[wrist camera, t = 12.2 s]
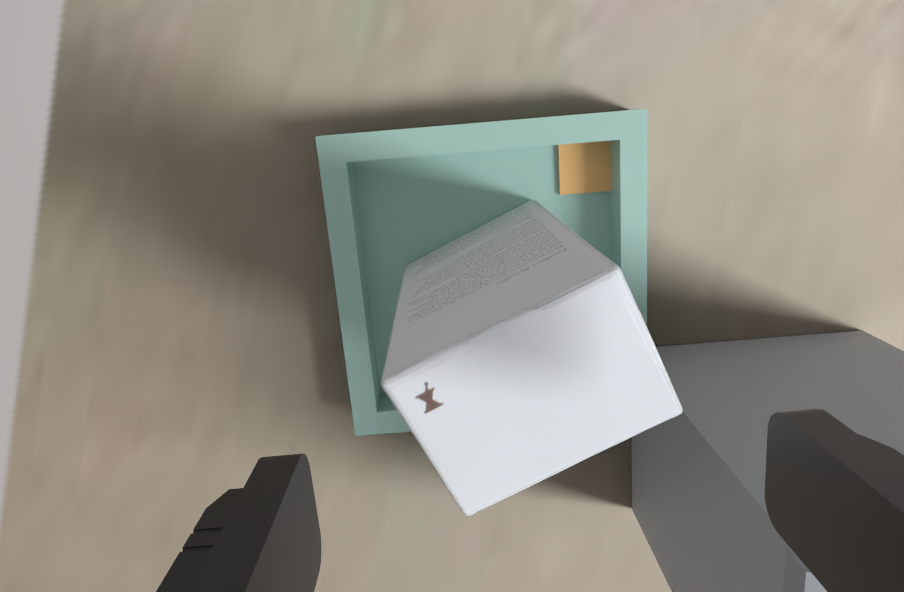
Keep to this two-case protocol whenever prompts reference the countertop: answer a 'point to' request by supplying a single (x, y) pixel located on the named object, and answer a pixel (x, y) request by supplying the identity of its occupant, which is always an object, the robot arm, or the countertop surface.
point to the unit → (749, 450)
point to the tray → (467, 213)
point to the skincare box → (520, 357)
